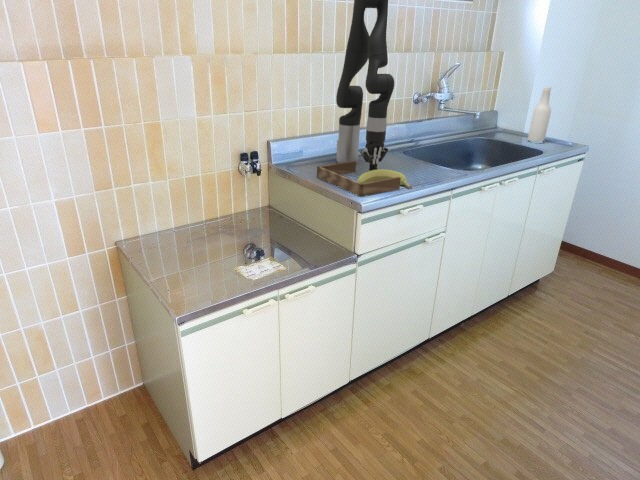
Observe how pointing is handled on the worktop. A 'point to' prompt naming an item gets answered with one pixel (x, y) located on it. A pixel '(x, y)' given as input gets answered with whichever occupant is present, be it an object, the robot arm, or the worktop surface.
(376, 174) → the banana
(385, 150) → the robot arm
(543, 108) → the alcohol
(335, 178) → the box
